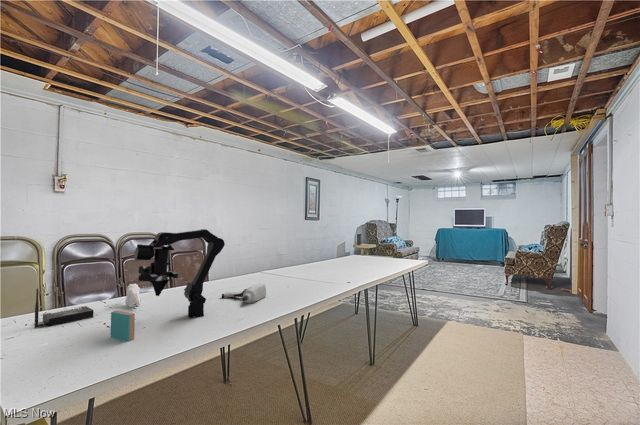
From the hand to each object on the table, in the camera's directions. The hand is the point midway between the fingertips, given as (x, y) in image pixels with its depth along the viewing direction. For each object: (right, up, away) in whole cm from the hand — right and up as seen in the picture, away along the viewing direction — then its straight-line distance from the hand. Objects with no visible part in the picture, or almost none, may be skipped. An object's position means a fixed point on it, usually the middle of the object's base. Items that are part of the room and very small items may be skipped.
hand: (157, 295), depth 134 cm
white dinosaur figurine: (-26, -13, +26) cm, 40 cm away
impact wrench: (+25, -14, +41) cm, 50 cm away
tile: (-5, -12, -17) cm, 21 cm away
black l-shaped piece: (-45, -13, +3) cm, 47 cm away
